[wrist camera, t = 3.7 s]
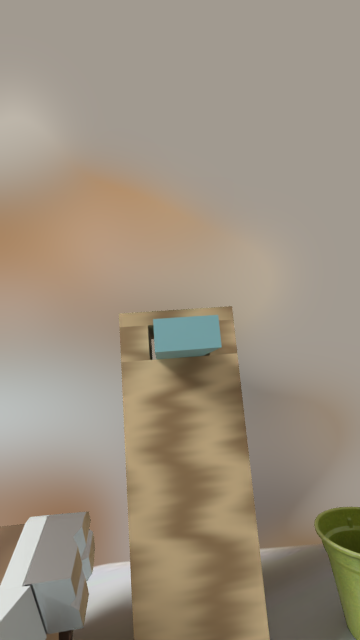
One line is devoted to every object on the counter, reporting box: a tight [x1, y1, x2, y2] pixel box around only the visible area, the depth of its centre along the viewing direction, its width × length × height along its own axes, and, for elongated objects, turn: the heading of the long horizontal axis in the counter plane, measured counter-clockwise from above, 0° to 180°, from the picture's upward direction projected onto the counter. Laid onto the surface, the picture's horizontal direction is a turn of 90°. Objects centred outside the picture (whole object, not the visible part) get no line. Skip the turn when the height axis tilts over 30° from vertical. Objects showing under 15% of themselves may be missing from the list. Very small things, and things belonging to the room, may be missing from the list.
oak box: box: [119, 306, 270, 640], centre depth 29 cm, size 10×10×30 cm
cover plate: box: [153, 315, 222, 359], centre depth 27 cm, size 4×18×2 cm, turn 4°
